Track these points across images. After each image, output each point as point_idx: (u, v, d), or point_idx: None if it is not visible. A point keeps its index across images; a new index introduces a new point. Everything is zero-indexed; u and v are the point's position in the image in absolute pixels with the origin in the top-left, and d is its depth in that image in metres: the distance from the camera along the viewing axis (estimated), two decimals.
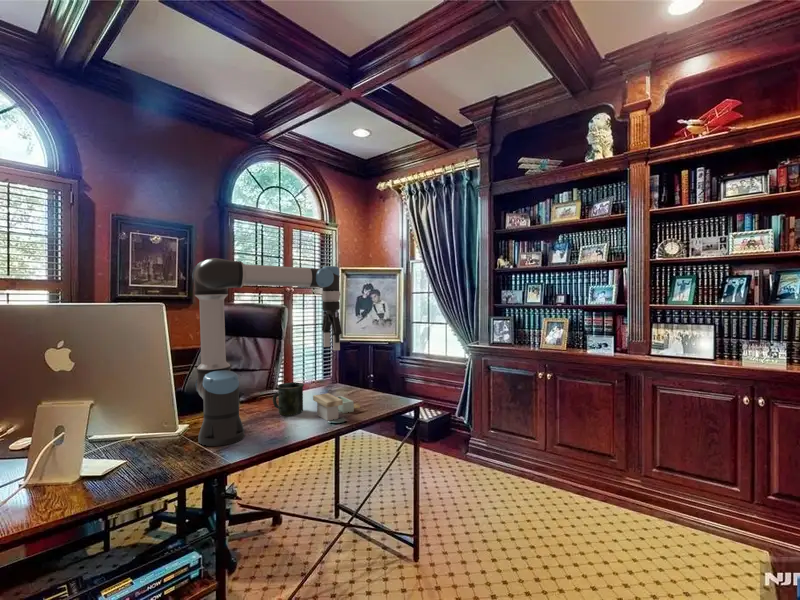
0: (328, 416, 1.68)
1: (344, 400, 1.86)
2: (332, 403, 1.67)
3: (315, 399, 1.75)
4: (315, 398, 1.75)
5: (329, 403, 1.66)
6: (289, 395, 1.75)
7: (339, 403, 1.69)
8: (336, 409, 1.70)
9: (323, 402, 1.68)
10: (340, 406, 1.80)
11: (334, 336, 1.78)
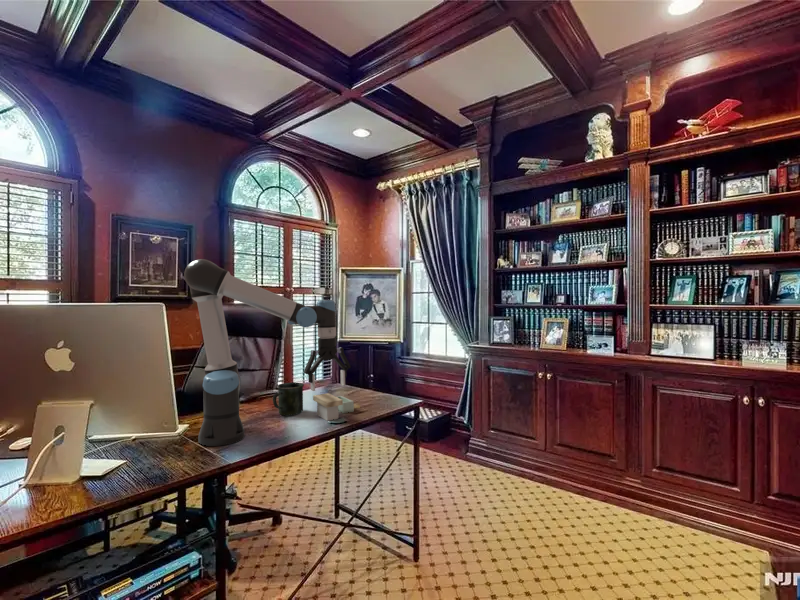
0: (328, 416, 1.68)
1: (344, 400, 1.86)
2: (332, 403, 1.67)
3: (315, 399, 1.75)
4: (315, 398, 1.75)
5: (329, 403, 1.66)
6: (289, 395, 1.75)
7: (339, 403, 1.69)
8: (336, 409, 1.70)
9: (323, 402, 1.68)
10: (340, 406, 1.80)
11: None
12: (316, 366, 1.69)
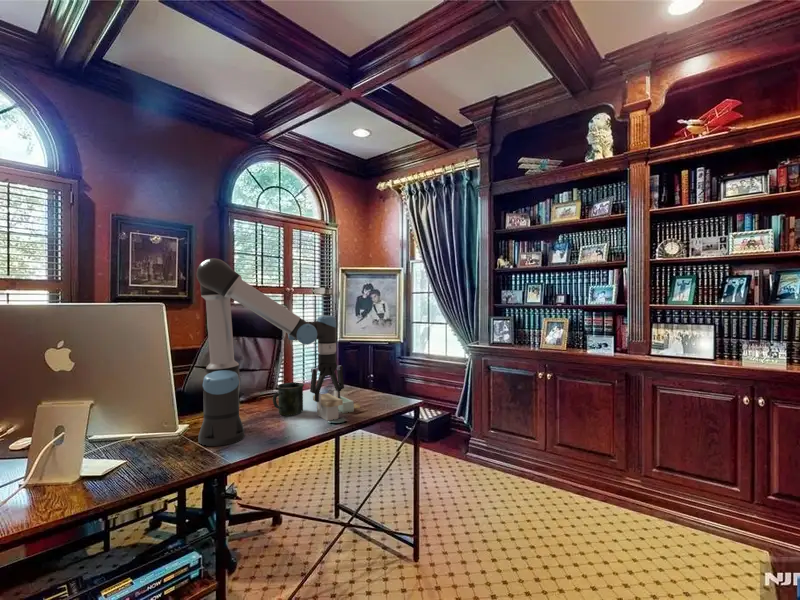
0: (328, 416, 1.68)
1: (344, 400, 1.86)
2: (332, 403, 1.67)
3: None
4: None
5: (329, 403, 1.66)
6: (289, 395, 1.75)
7: (339, 403, 1.69)
8: (336, 409, 1.70)
9: (323, 402, 1.68)
10: (340, 406, 1.80)
11: None
12: (320, 384, 1.70)
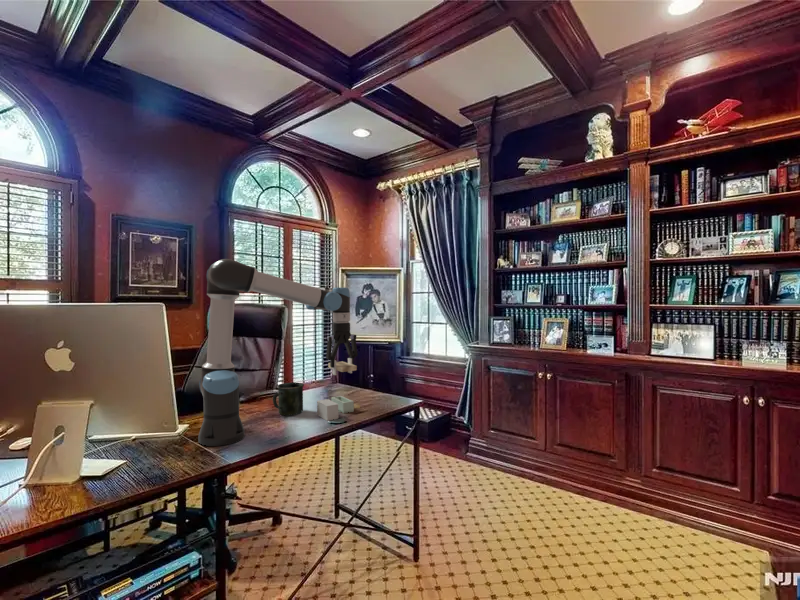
0: (328, 416, 1.68)
1: (344, 400, 1.86)
2: (347, 368, 1.78)
3: (330, 366, 1.86)
4: None
5: (344, 368, 1.77)
6: (289, 395, 1.75)
7: (353, 368, 1.79)
8: (336, 409, 1.70)
9: (338, 367, 1.79)
10: (340, 406, 1.80)
11: None
12: (335, 351, 1.81)
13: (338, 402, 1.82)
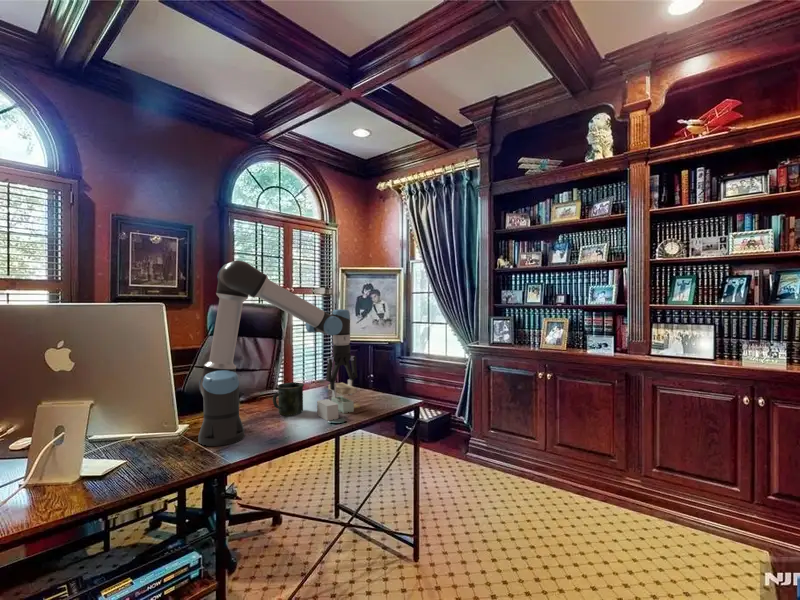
0: (328, 416, 1.68)
1: (344, 400, 1.86)
2: (347, 391, 1.78)
3: None
4: None
5: (344, 391, 1.77)
6: (289, 395, 1.75)
7: (353, 391, 1.80)
8: (336, 409, 1.70)
9: (338, 390, 1.79)
10: (340, 406, 1.80)
11: None
12: (335, 373, 1.81)
13: (338, 402, 1.82)
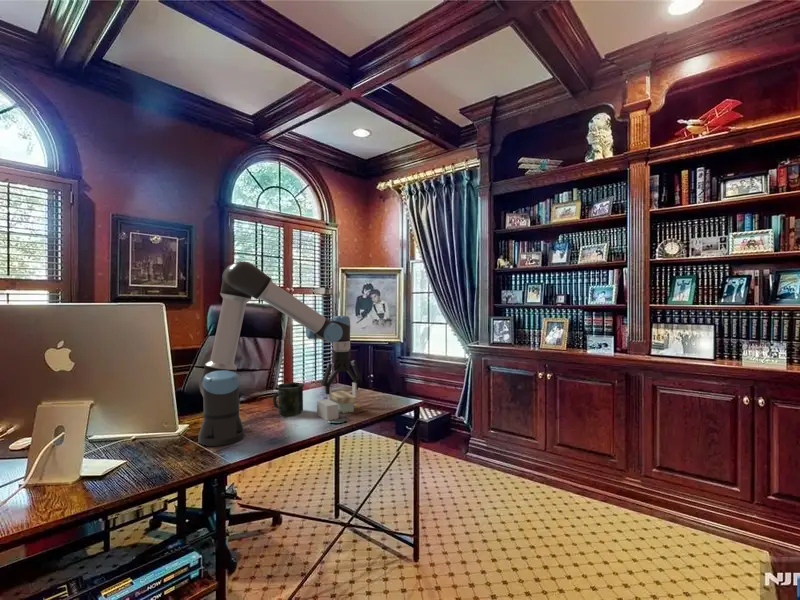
0: (328, 416, 1.68)
1: None
2: (347, 400, 1.78)
3: None
4: None
5: (344, 400, 1.77)
6: (289, 395, 1.75)
7: (353, 400, 1.80)
8: (336, 409, 1.70)
9: (338, 399, 1.79)
10: (340, 406, 1.80)
11: None
12: (332, 378, 1.80)
13: (338, 402, 1.82)
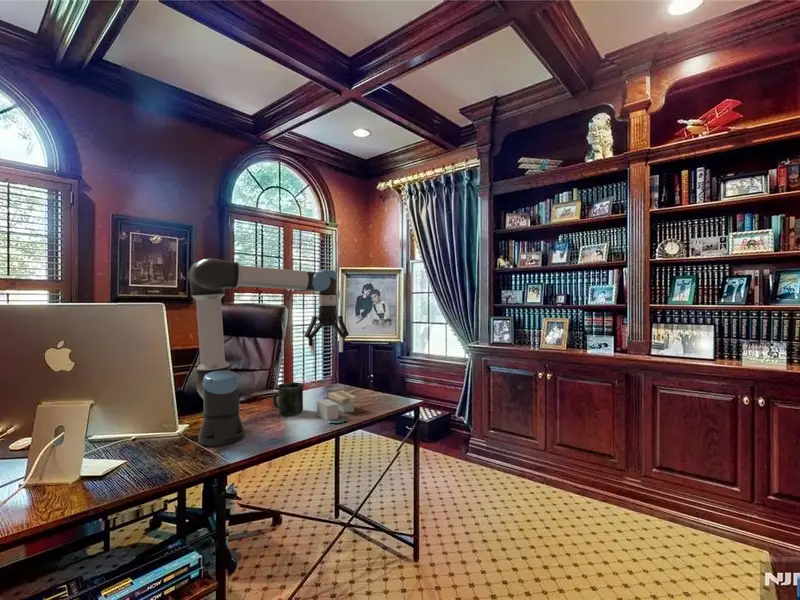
0: (328, 416, 1.68)
1: None
2: (347, 400, 1.78)
3: (330, 396, 1.86)
4: (330, 395, 1.86)
5: (344, 400, 1.77)
6: (289, 395, 1.75)
7: (353, 400, 1.80)
8: (336, 409, 1.70)
9: (338, 399, 1.79)
10: (340, 406, 1.80)
11: None
12: (316, 331, 1.80)
13: (338, 402, 1.82)
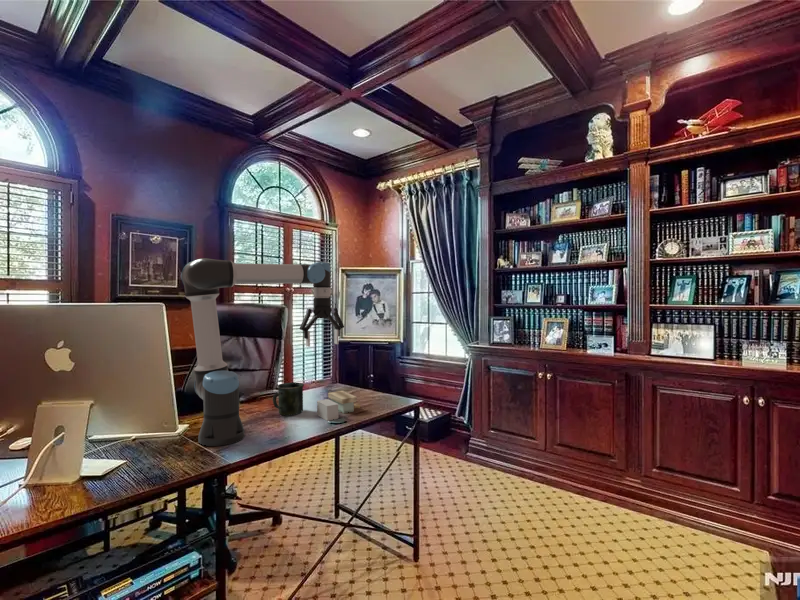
0: (328, 416, 1.68)
1: None
2: (347, 400, 1.78)
3: (330, 396, 1.86)
4: (330, 395, 1.86)
5: (344, 400, 1.77)
6: (289, 395, 1.75)
7: (353, 400, 1.80)
8: (336, 409, 1.70)
9: (338, 399, 1.79)
10: (340, 406, 1.80)
11: None
12: (311, 323, 1.80)
13: (338, 402, 1.82)
